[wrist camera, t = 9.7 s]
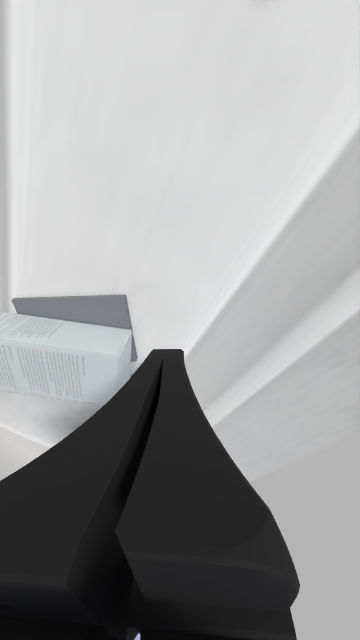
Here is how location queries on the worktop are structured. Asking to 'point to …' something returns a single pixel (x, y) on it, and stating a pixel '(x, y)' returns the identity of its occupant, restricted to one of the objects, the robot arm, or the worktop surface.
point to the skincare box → (63, 358)
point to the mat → (81, 311)
